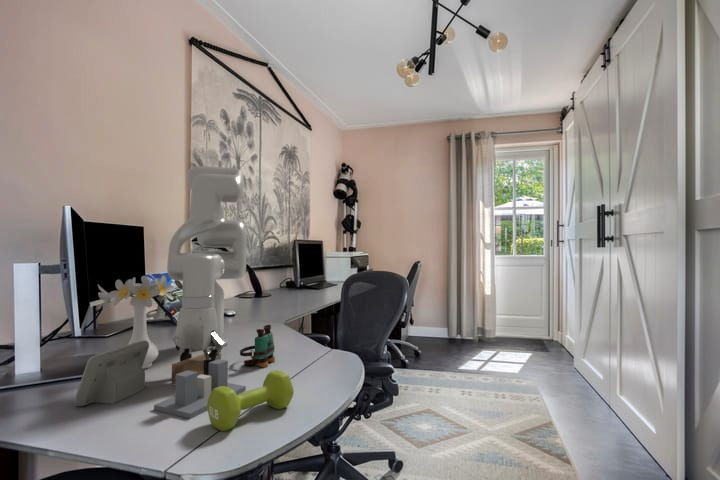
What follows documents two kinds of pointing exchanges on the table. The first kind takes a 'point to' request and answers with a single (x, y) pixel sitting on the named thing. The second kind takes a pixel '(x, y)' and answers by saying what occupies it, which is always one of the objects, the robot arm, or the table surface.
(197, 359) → the tan bar
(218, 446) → the table surface
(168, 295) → the flower vase
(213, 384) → the display stand
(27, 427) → the table surface
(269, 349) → the binoculars
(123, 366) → the digital clock
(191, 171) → the robot arm
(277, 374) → the dumbbell
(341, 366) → the table surface
